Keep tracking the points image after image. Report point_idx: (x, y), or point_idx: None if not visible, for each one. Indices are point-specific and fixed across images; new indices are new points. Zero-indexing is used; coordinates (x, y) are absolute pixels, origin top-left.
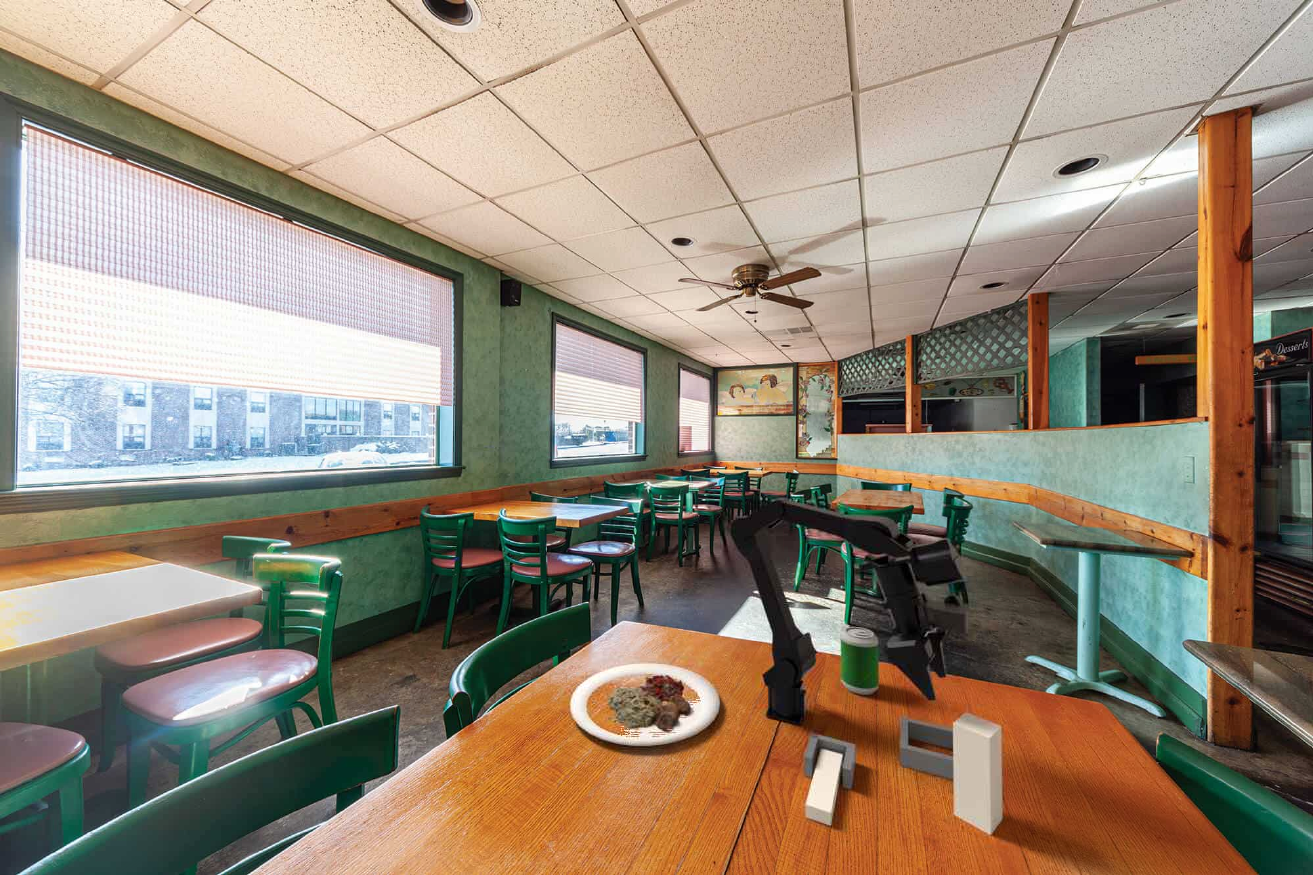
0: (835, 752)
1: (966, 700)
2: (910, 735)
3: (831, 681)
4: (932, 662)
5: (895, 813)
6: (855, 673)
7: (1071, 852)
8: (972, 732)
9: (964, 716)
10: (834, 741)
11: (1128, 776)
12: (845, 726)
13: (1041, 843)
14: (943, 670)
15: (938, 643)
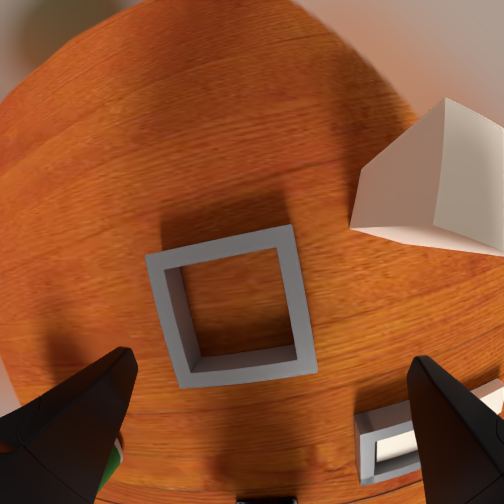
0: (377, 445)
1: (17, 267)
2: (198, 355)
3: (117, 472)
4: (108, 424)
5: (448, 324)
6: (106, 467)
7: (367, 83)
8: None
9: (468, 225)
10: (369, 458)
11: (105, 44)
12: (243, 451)
13: (379, 117)
14: (116, 368)
15: (22, 459)
